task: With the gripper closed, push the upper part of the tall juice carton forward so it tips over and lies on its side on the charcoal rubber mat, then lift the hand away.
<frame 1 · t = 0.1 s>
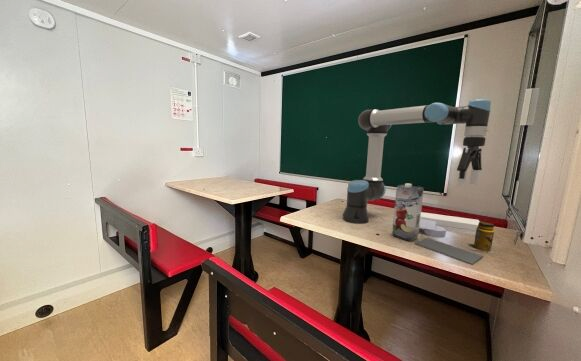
hand: (467, 185, 104), 28 cm above the table, tool pointing down, fingers open, 13 cm apart
condiment: (479, 248, 105), on the table
juice carton: (404, 237, 114), on the table
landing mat: (446, 250, 101), on the table
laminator: (442, 228, 131), on the table
wedge on round base: (430, 233, 122), on the table
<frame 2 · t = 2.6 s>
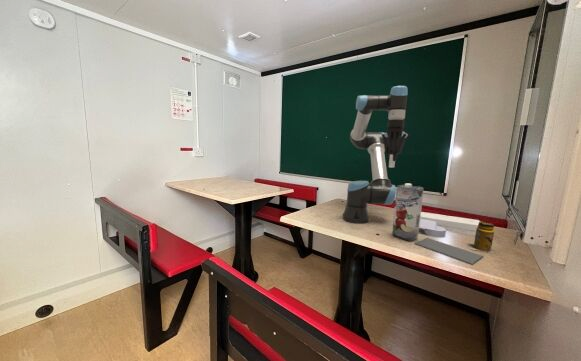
hand: (391, 167, 118), 34 cm above the table, tool pointing down, fingers closed
nothing on the table moved.
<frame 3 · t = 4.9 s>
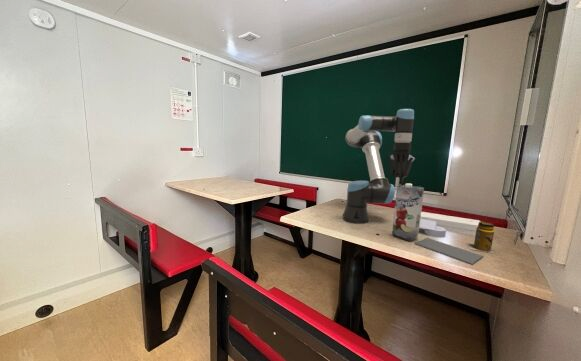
hand: (397, 190, 116), 23 cm above the table, tool pointing down, fingers closed
juice carton: (404, 237, 114), on the table, touching gripper
everything else where it was.
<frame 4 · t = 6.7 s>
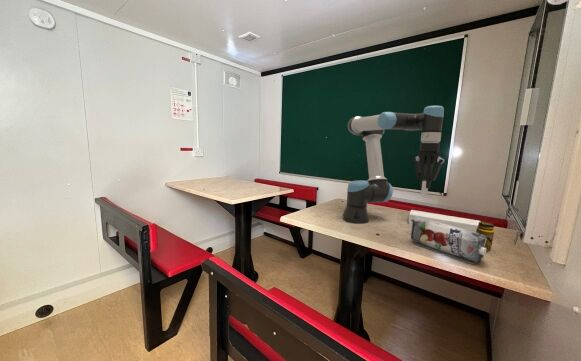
hand: (424, 195, 105), 23 cm above the table, tool pointing down, fingers closed
juice carton: (414, 228, 110), point 6 cm above the table, touching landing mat
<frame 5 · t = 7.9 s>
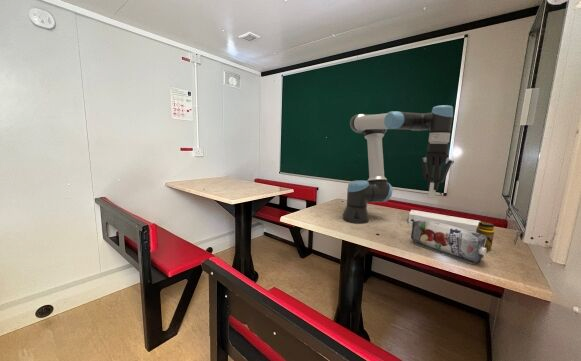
hand: (431, 196, 103), 22 cm above the table, tool pointing down, fingers closed
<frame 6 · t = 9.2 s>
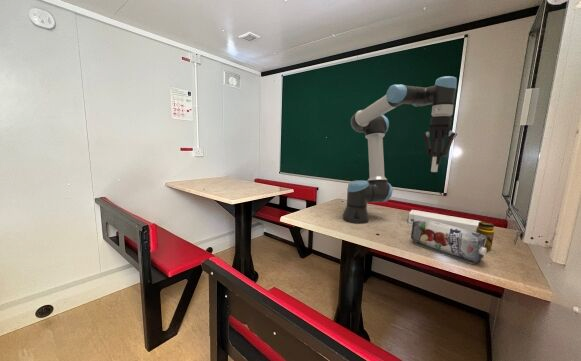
hand: (434, 171, 102), 34 cm above the table, tool pointing down, fingers closed
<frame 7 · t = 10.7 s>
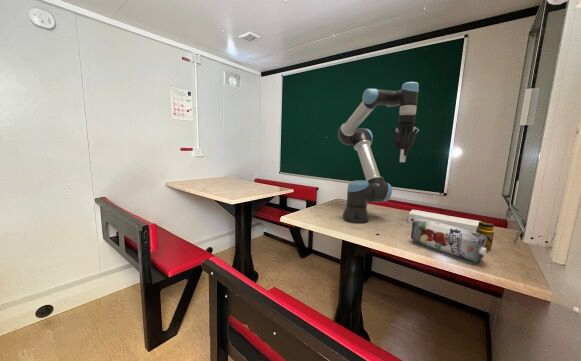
hand: (402, 161, 120), 36 cm above the table, tool pointing down, fingers closed
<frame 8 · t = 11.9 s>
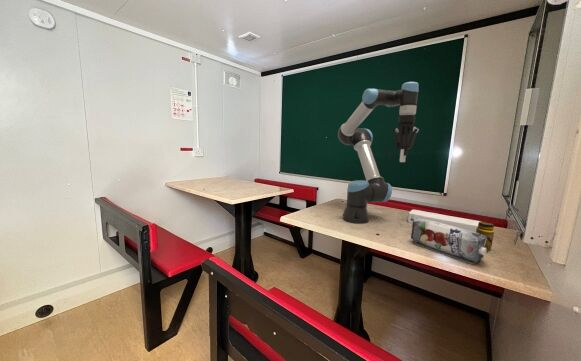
hand: (402, 161, 120), 36 cm above the table, tool pointing down, fingers closed
at the end: juice carton tilted 90°; juice carton inside the target area (2.2 cm from its centre), point 5.9 cm above the table; juice carton touching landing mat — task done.
